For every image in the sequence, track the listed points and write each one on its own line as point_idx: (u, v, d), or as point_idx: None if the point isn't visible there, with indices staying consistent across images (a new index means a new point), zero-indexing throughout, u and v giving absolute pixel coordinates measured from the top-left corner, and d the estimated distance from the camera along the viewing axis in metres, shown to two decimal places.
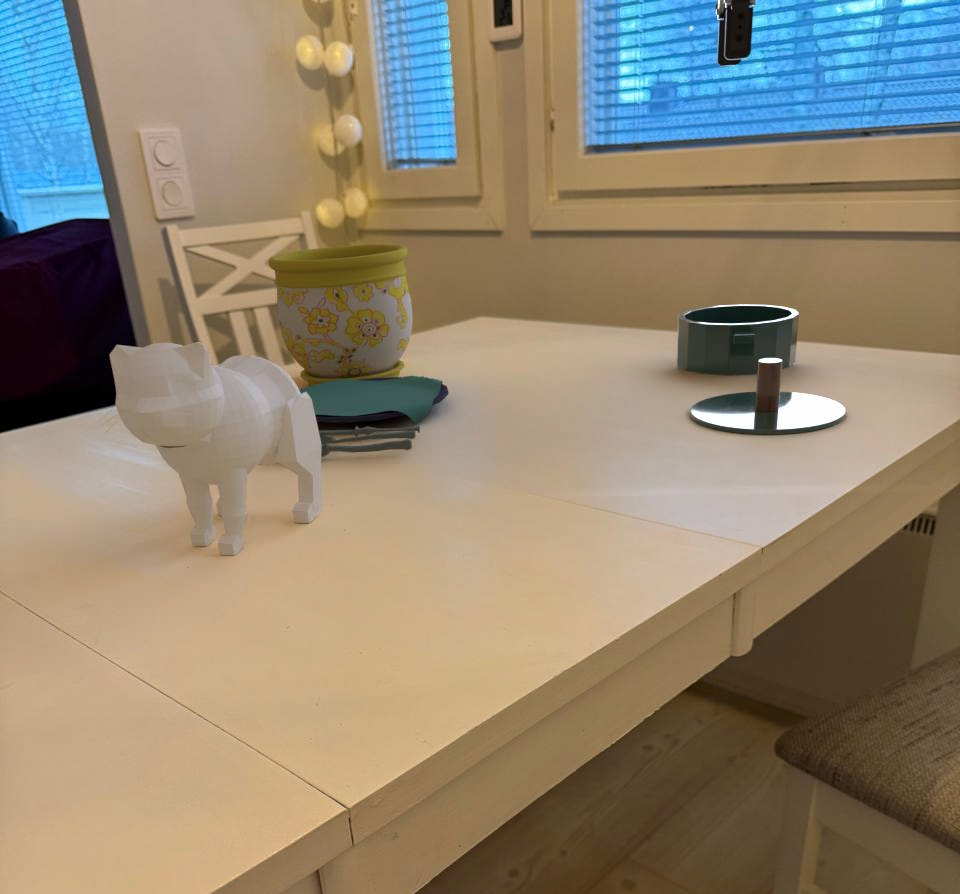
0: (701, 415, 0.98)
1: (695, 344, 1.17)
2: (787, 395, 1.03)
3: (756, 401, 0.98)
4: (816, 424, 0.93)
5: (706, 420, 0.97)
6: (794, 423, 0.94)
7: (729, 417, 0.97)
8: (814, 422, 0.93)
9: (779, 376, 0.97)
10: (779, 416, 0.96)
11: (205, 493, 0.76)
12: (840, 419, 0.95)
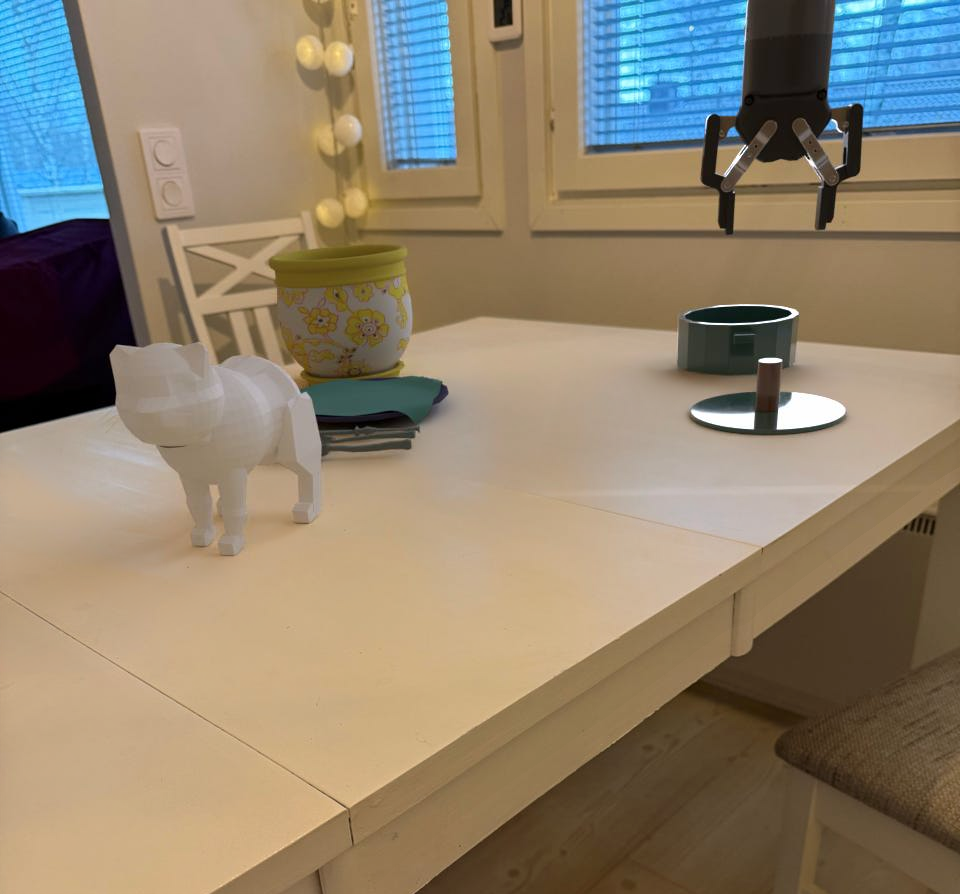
0: (701, 415, 0.98)
1: (695, 344, 1.17)
2: (787, 395, 1.03)
3: (756, 401, 0.98)
4: (816, 424, 0.93)
5: (706, 420, 0.97)
6: (794, 423, 0.94)
7: (729, 417, 0.97)
8: (814, 422, 0.93)
9: (779, 376, 0.97)
10: (779, 416, 0.96)
11: (205, 493, 0.76)
12: (840, 419, 0.95)
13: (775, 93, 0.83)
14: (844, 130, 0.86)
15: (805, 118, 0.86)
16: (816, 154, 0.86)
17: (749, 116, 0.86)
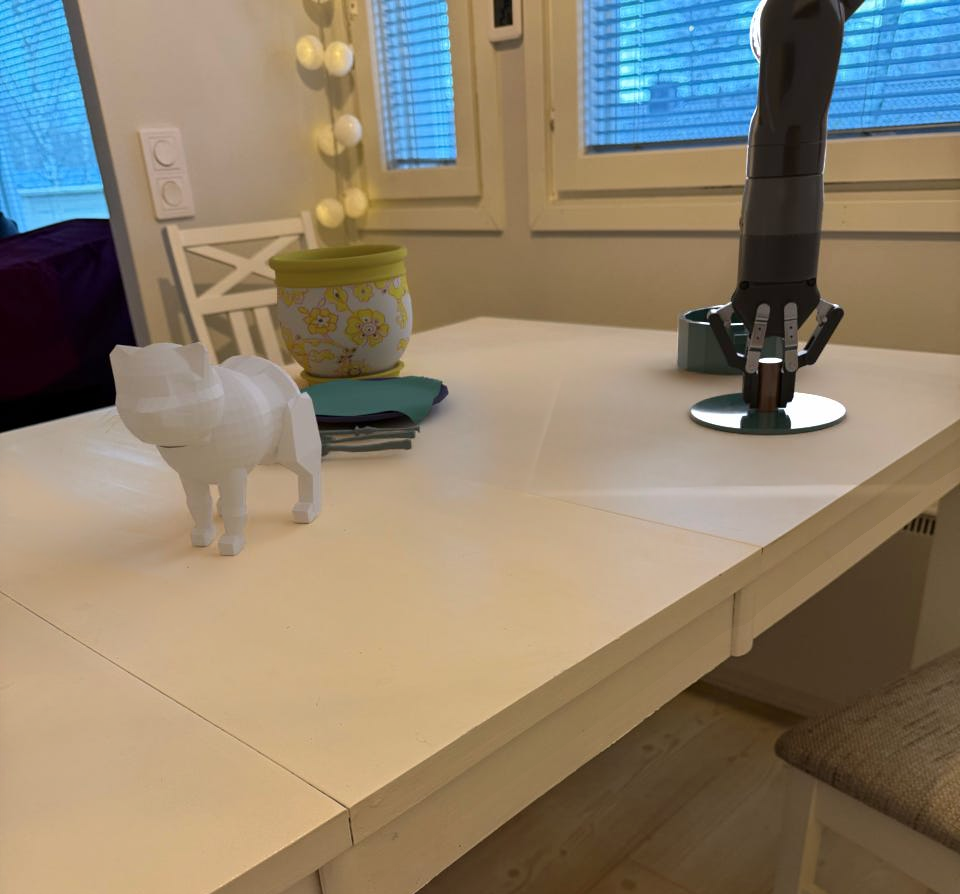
0: (701, 415, 0.98)
1: (695, 344, 1.17)
2: None
3: None
4: (816, 424, 0.93)
5: (706, 420, 0.97)
6: (794, 423, 0.94)
7: (729, 417, 0.97)
8: (814, 422, 0.93)
9: (779, 376, 0.97)
10: (779, 416, 0.96)
11: (205, 493, 0.76)
12: (840, 419, 0.95)
13: (768, 283, 0.90)
14: (820, 323, 0.94)
15: (797, 305, 0.93)
16: (790, 340, 0.94)
17: (744, 298, 0.93)
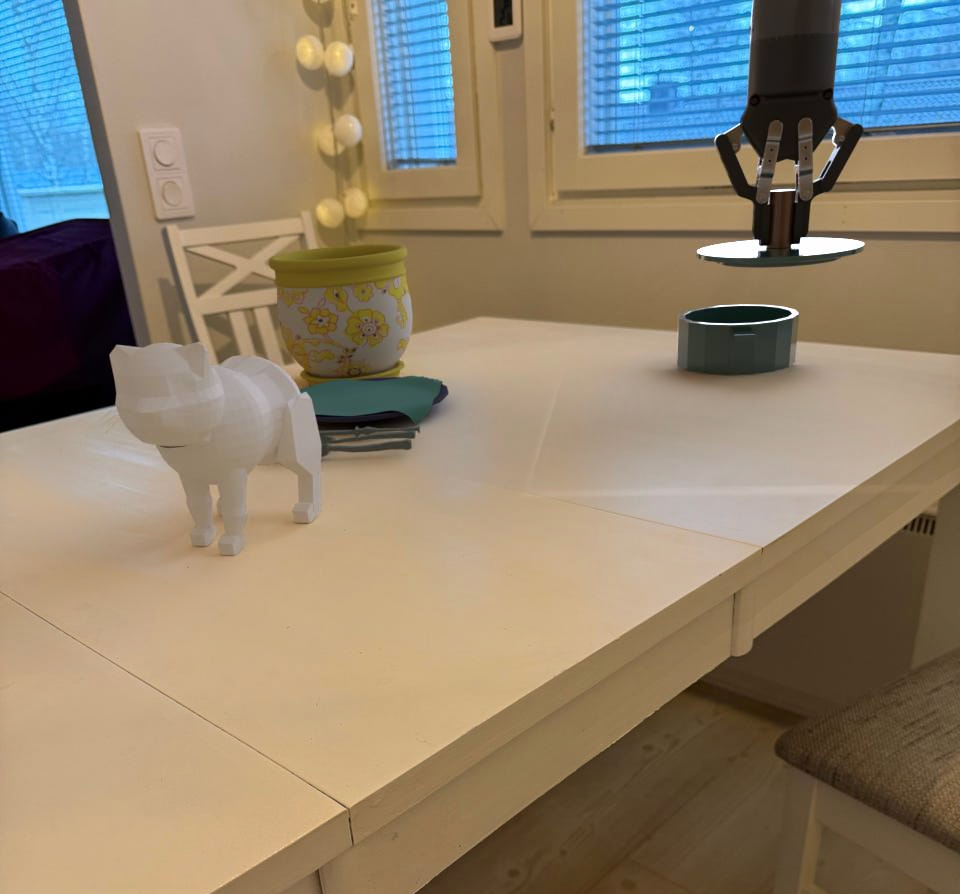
0: (708, 253, 0.91)
1: (695, 344, 1.17)
2: None
3: None
4: (833, 252, 0.86)
5: (713, 255, 0.89)
6: (809, 252, 0.86)
7: (738, 253, 0.90)
8: (831, 251, 0.86)
9: (792, 207, 0.89)
10: (793, 250, 0.89)
11: (205, 493, 0.76)
12: (859, 249, 0.87)
13: (781, 93, 0.83)
14: (837, 144, 0.87)
15: (813, 122, 0.86)
16: (805, 162, 0.87)
17: (755, 116, 0.86)
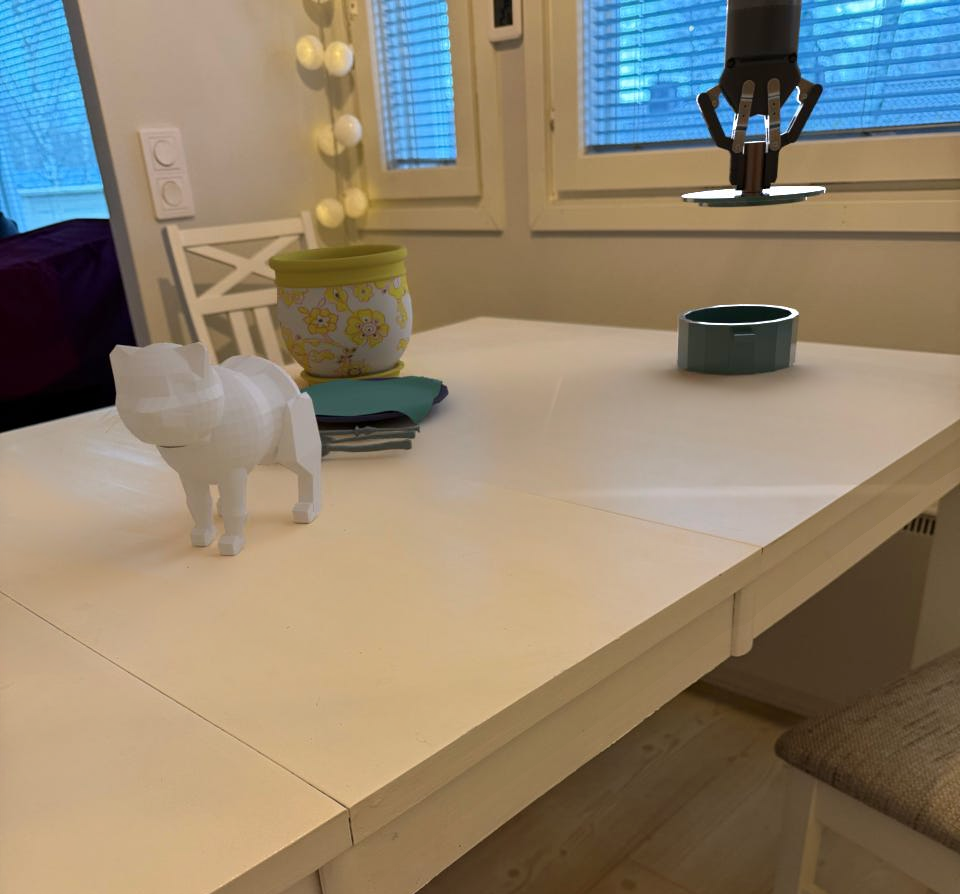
0: (692, 196, 1.06)
1: (695, 344, 1.17)
2: (771, 187, 1.11)
3: None
4: (798, 192, 1.00)
5: (696, 197, 1.04)
6: (777, 193, 1.01)
7: (717, 195, 1.05)
8: (796, 192, 1.01)
9: (763, 156, 1.04)
10: None
11: (205, 493, 0.76)
12: (820, 192, 1.02)
13: (753, 56, 0.98)
14: (801, 101, 1.01)
15: (780, 82, 1.00)
16: (773, 116, 1.01)
17: (731, 77, 1.01)
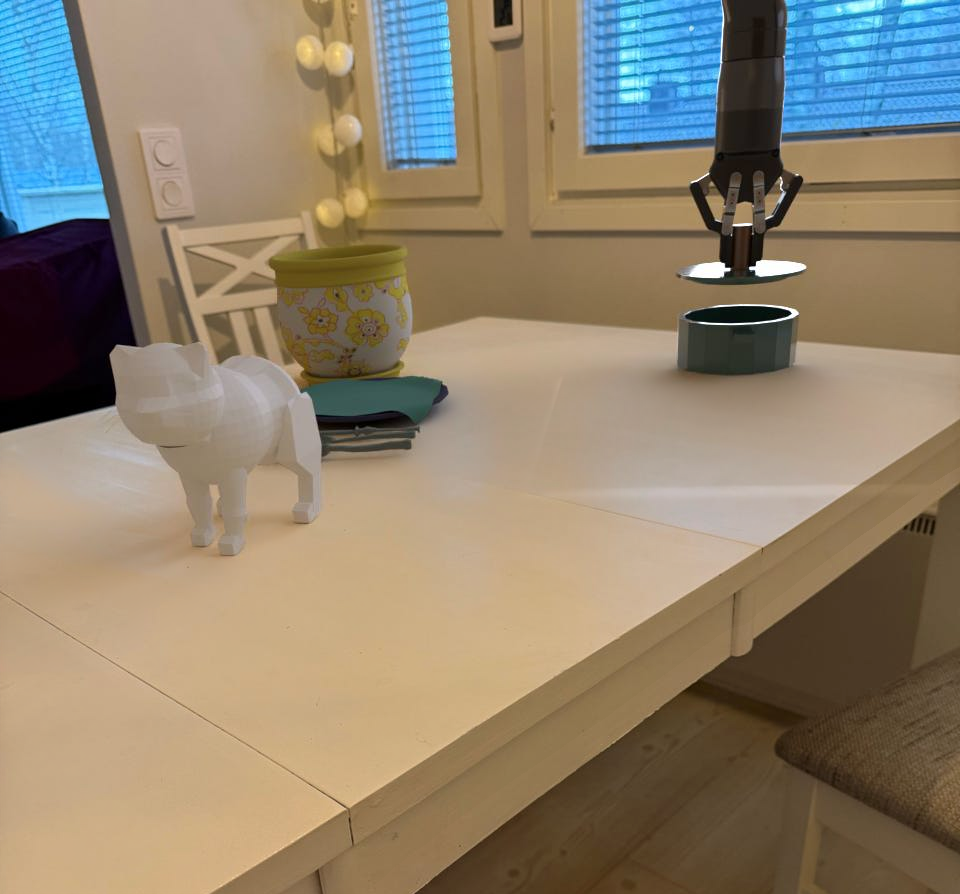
0: (684, 273, 1.16)
1: (695, 344, 1.17)
2: (758, 262, 1.21)
3: (731, 261, 1.16)
4: (780, 273, 1.11)
5: (688, 275, 1.14)
6: (762, 274, 1.11)
7: (708, 273, 1.15)
8: (778, 273, 1.11)
9: (750, 238, 1.14)
10: (750, 271, 1.14)
11: (205, 493, 0.76)
12: (801, 272, 1.12)
13: (739, 152, 1.08)
14: (784, 190, 1.12)
15: (764, 174, 1.11)
16: (758, 204, 1.12)
17: (720, 168, 1.11)
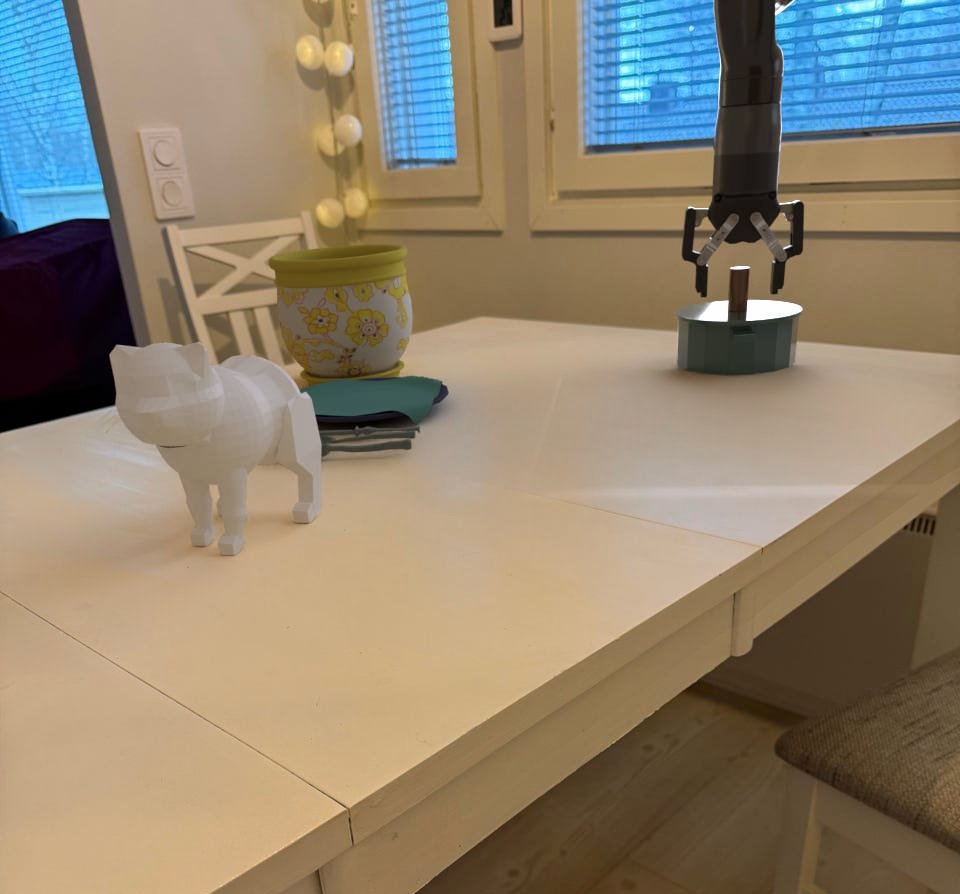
0: (683, 314, 1.19)
1: (695, 344, 1.17)
2: (755, 302, 1.23)
3: (728, 303, 1.19)
4: (776, 317, 1.13)
5: (687, 317, 1.17)
6: (759, 317, 1.14)
7: (706, 315, 1.17)
8: (775, 316, 1.14)
9: (747, 281, 1.17)
10: (747, 313, 1.16)
11: (205, 493, 0.76)
12: (797, 314, 1.15)
13: (736, 195, 1.10)
14: (790, 220, 1.13)
15: (760, 212, 1.13)
16: (769, 238, 1.13)
17: (718, 210, 1.13)
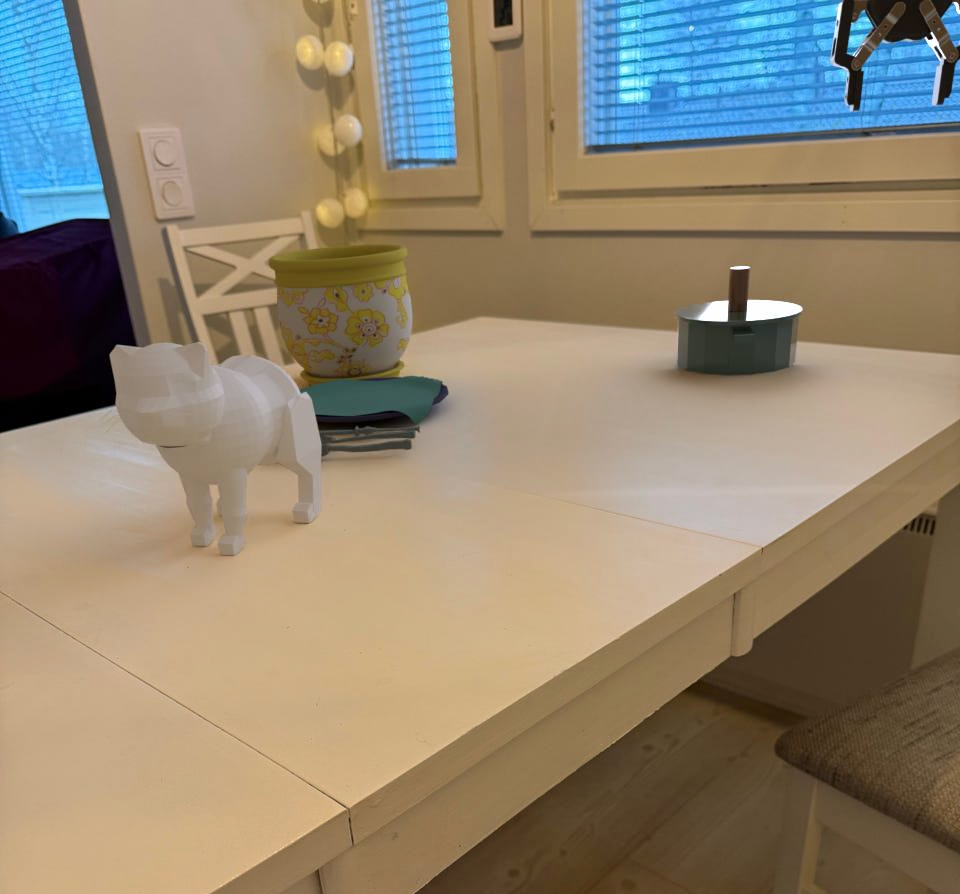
0: (683, 314, 1.19)
1: (695, 344, 1.17)
2: (755, 302, 1.23)
3: (728, 303, 1.19)
4: (776, 317, 1.13)
5: (687, 317, 1.17)
6: (759, 317, 1.14)
7: (706, 315, 1.17)
8: (775, 316, 1.14)
9: (747, 281, 1.17)
10: (747, 313, 1.16)
11: (205, 493, 0.76)
12: (797, 314, 1.15)
13: None
14: None
15: (930, 0, 0.97)
16: (939, 33, 0.98)
17: None
